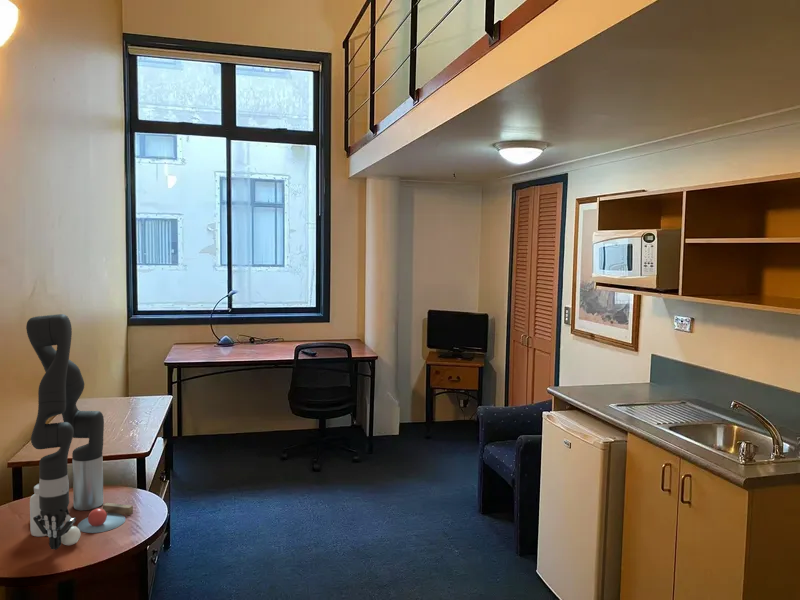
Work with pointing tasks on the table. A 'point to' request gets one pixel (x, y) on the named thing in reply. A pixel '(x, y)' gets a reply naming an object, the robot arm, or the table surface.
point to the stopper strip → (118, 508)
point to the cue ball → (71, 536)
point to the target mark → (110, 523)
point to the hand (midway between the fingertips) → (55, 548)
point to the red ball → (97, 517)
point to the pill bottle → (35, 513)
